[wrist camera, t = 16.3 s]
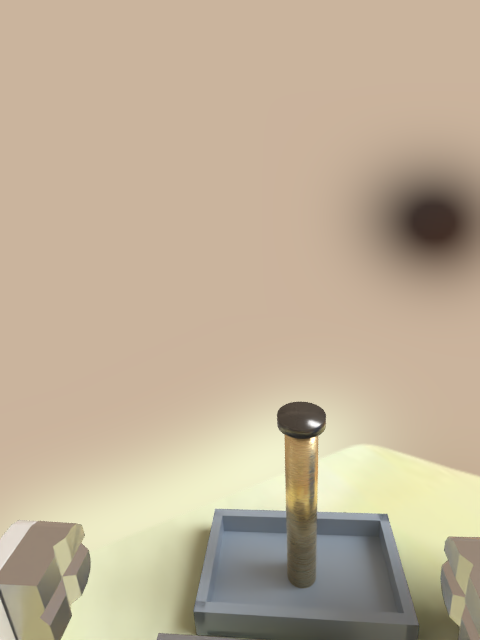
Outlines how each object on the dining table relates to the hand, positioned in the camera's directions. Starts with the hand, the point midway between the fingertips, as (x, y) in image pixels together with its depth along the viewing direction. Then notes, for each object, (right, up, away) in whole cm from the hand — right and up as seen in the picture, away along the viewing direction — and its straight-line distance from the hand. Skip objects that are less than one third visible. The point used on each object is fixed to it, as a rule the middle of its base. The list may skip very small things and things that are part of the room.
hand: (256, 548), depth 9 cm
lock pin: (+5, -16, +26) cm, 31 cm away
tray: (+5, -17, +26) cm, 31 cm away
